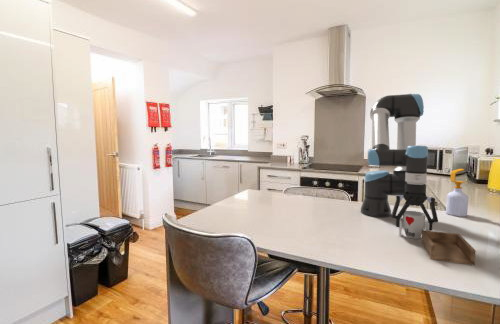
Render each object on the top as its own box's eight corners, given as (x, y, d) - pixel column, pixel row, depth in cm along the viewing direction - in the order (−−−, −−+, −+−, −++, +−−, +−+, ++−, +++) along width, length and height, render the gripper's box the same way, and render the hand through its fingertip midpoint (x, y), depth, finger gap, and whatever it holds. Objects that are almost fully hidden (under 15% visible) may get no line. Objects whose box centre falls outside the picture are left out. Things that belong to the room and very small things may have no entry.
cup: (397, 233, 117) (398, 210, 116) (415, 232, 117) (416, 210, 116) (410, 240, 109) (411, 216, 108) (429, 239, 109) (430, 215, 108)
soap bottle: (471, 217, 139) (474, 170, 137) (451, 216, 141) (453, 169, 139) (461, 212, 148) (464, 168, 146) (442, 211, 150) (445, 167, 148)
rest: (430, 259, 92) (431, 244, 91) (421, 242, 107) (422, 230, 106) (474, 265, 87) (475, 250, 87) (458, 246, 102) (459, 233, 102)
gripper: (386, 182, 112) (384, 235, 113) (450, 186, 103) (447, 243, 105) (385, 180, 119) (383, 230, 120) (444, 183, 110) (441, 236, 112)
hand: (413, 236), depth 113 cm, fingers open, 9 cm apart
